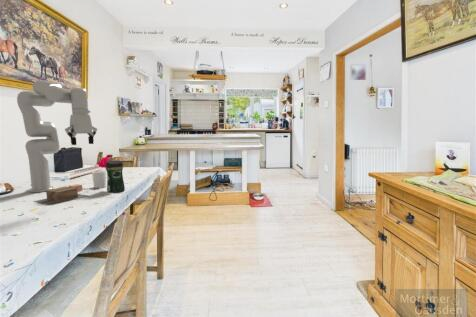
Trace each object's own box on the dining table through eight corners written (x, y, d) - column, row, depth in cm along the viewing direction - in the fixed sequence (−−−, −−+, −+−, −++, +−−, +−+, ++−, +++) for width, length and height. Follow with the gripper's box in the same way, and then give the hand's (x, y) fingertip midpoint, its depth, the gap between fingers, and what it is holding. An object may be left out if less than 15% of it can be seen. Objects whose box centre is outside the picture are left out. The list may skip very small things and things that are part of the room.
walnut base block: (47, 199, 143) (46, 190, 142) (66, 195, 152) (65, 186, 151) (58, 202, 138) (57, 192, 138) (77, 197, 147) (77, 188, 146)
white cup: (101, 188, 175) (100, 172, 174) (90, 188, 177) (89, 172, 175) (109, 185, 183) (108, 170, 182) (98, 185, 184) (97, 170, 183)
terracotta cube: (69, 194, 161) (68, 185, 161) (77, 192, 166) (76, 184, 165) (74, 195, 159) (73, 186, 158) (82, 193, 163) (82, 184, 163)
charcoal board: (33, 204, 140) (33, 201, 140) (72, 195, 157) (72, 192, 157) (51, 208, 133) (51, 205, 132) (90, 198, 150) (90, 195, 150)
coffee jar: (122, 188, 173) (120, 159, 171) (126, 191, 167) (124, 160, 165) (105, 191, 167) (103, 160, 165) (109, 193, 161) (107, 162, 159)
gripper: (90, 113, 156) (93, 143, 158) (59, 111, 141) (62, 145, 143) (99, 112, 153) (101, 143, 155) (68, 111, 138) (71, 145, 140)
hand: (82, 144), depth 149 cm, fingers open, 9 cm apart
